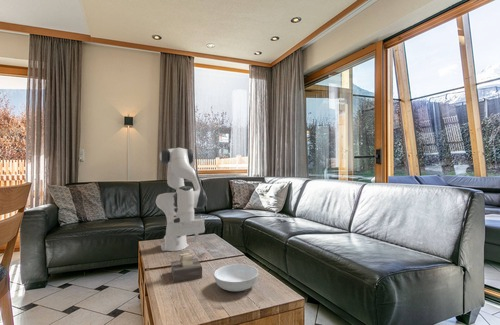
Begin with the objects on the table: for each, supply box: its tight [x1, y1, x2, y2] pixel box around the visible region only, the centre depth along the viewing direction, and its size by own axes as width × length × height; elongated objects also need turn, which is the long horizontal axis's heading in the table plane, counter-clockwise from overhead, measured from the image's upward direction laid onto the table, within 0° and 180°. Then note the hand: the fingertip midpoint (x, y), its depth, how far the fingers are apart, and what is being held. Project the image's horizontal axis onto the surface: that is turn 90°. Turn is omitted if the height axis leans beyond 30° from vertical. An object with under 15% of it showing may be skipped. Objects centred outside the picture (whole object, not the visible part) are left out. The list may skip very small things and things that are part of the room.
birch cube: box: [179, 252, 194, 267], centre depth 140 cm, size 5×5×5 cm
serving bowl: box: [213, 263, 259, 292], centre depth 126 cm, size 21×21×7 cm
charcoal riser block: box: [170, 257, 203, 283], centre depth 140 cm, size 14×14×6 cm
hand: (186, 243), depth 140 cm, fingers open, 8 cm apart
